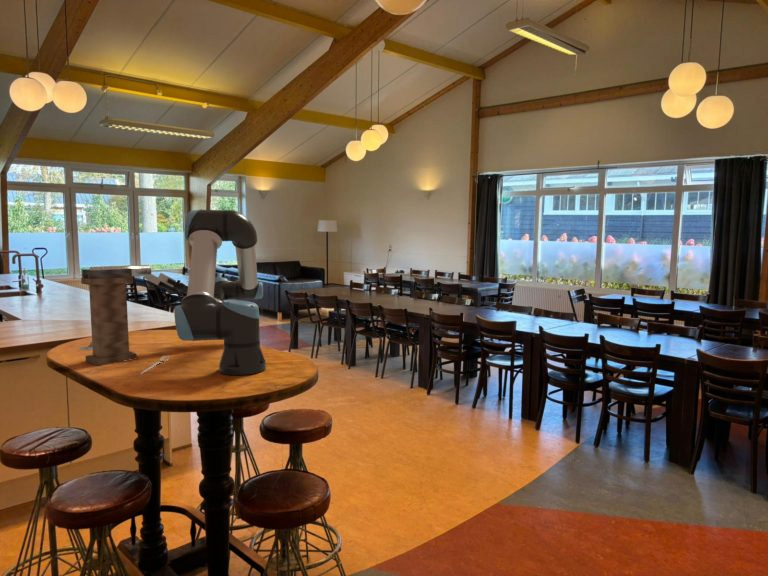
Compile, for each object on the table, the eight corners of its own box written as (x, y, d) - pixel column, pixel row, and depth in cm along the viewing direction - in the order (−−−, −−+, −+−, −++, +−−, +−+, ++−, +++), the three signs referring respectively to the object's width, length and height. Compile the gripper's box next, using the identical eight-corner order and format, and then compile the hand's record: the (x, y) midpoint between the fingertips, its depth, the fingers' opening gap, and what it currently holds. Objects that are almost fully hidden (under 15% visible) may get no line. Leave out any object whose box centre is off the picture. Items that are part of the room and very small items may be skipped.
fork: (135, 376, 173) (135, 370, 172) (161, 360, 192) (161, 355, 192) (145, 376, 173) (145, 370, 172) (170, 360, 192) (170, 355, 192)
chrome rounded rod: (147, 275, 201) (146, 265, 201) (151, 274, 198) (150, 264, 198) (90, 278, 187) (89, 267, 187) (93, 277, 184) (92, 266, 184)
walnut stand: (126, 355, 200) (122, 267, 197) (136, 359, 193) (132, 268, 190) (85, 361, 190) (80, 269, 187) (95, 365, 183) (90, 270, 180)
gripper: (209, 310, 205) (160, 286, 191) (180, 305, 223) (134, 282, 208) (217, 293, 207) (170, 267, 193) (188, 289, 225) (143, 265, 211)
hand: (151, 275), depth 201 cm, fingers open, 13 cm apart
